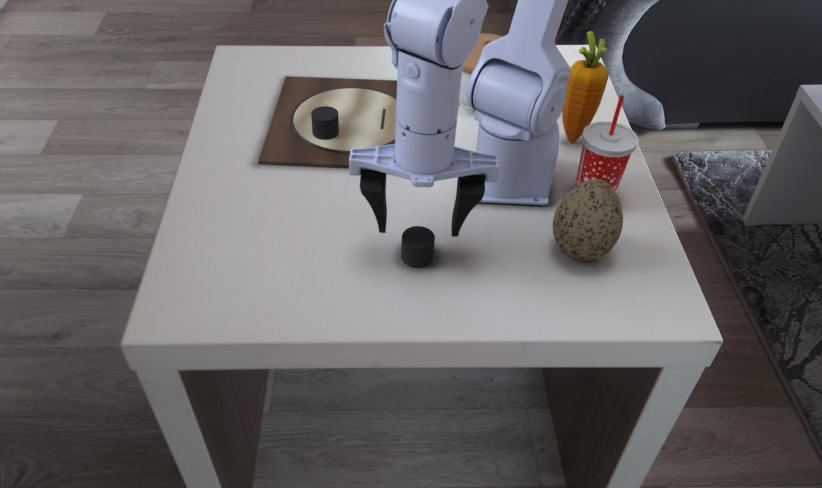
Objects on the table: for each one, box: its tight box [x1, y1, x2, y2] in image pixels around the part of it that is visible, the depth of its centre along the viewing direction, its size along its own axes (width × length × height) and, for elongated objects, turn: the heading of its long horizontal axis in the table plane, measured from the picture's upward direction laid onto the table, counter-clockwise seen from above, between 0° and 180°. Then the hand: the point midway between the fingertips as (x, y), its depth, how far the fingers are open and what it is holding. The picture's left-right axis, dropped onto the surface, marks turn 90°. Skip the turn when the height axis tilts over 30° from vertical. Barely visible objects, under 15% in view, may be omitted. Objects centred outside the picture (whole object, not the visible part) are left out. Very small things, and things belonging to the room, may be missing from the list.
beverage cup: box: [574, 94, 640, 194], centre depth 79 cm, size 6×6×14 cm
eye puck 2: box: [400, 225, 436, 269], centre depth 76 cm, size 4×4×3 cm
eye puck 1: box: [311, 106, 339, 140], centre depth 93 cm, size 4×4×3 cm
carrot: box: [561, 30, 610, 144], centre depth 88 cm, size 5×5×15 cm
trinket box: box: [459, 32, 518, 112], centre depth 98 cm, size 11×11×9 cm
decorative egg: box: [552, 179, 624, 262], centre depth 74 cm, size 7×7×10 cm
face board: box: [257, 75, 397, 169], centre depth 97 cm, size 22×22×1 cm
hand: (418, 228), depth 74 cm, fingers open, 7 cm apart
